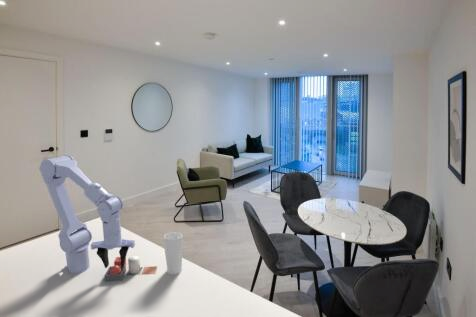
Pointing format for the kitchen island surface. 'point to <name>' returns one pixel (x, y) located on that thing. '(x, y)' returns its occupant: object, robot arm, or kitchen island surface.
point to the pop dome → (115, 270)
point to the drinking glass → (173, 252)
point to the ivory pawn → (134, 264)
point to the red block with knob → (118, 261)
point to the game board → (145, 270)
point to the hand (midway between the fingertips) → (114, 265)
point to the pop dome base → (115, 275)
